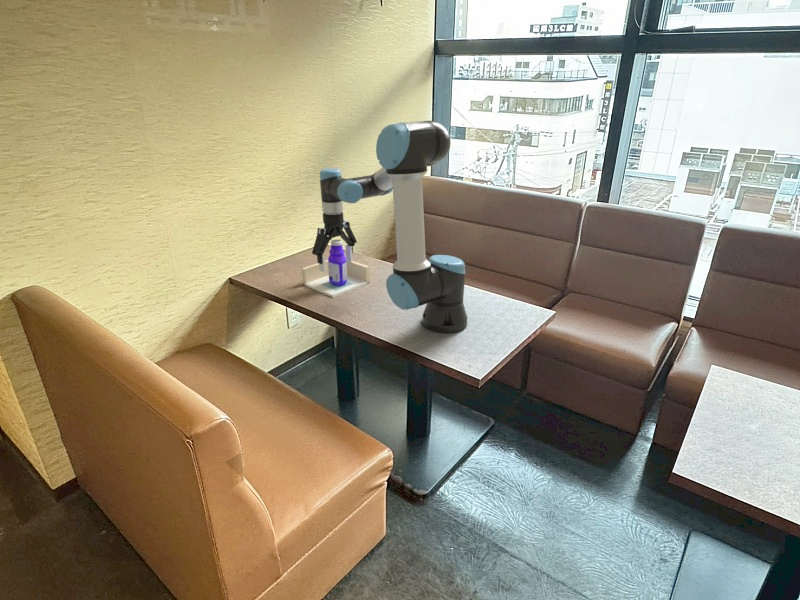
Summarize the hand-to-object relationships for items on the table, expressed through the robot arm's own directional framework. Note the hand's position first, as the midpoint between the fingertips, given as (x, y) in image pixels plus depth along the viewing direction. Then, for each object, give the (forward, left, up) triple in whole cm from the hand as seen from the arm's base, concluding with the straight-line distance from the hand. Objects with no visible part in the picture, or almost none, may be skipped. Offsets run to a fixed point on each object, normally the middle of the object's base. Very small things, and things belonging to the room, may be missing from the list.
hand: (336, 266), depth 194 cm
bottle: (0, -1, -8) cm, 8 cm away
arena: (+2, -2, -8) cm, 9 cm away
